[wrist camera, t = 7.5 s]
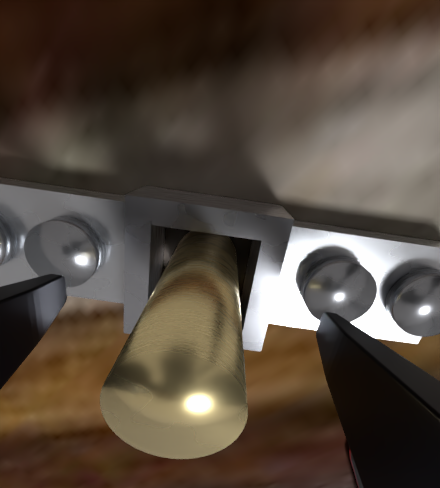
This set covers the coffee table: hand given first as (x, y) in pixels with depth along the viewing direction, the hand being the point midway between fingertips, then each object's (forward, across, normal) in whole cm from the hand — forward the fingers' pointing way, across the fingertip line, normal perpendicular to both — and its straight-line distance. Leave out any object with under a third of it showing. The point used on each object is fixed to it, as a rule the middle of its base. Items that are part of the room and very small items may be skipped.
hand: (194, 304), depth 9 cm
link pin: (+4, 0, 0) cm, 4 cm away
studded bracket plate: (+4, 0, 0) cm, 4 cm away
